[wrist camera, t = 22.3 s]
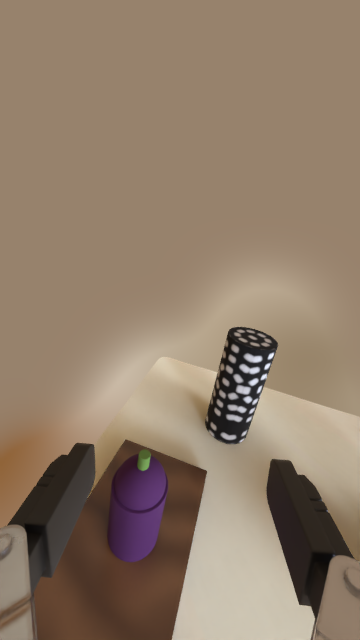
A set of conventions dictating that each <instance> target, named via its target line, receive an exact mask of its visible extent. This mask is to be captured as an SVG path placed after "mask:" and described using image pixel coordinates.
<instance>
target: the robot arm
mask: <svg viewBox="0 0 360 640" xmlns="http://www.w3.org/2000/svg"><path fill="white" fill-rule="evenodd" d="M94 479H95V450H94V445H93V444H84V443H76V444H75V445H74V447H73V448H72V450H71V451H70V453H69V454H68V455H61V456H60V457H58V458H57V459H56V460H55V461H54V462H52V463H51V464H50V466H49V467H48V468H47V470H46V471H45V473H44V474H43V477H41V478H40V480H39V481H38V483H37V485H36V486H35V487H34V488H33V490H32V491H31V493H30V494H29V495H28V497H27V498H26V500H25V501H24V503H23V504H22V505H21V507H20V508H19V510H18V511H17V512H16V514H15V515H14V517H13V518H12V520H11V521H10V522H9V524H8V525H7V526H5V527H2V528H0V640H38V635H37V623H36V611H35V599H34V591H35V588H36V586H37V584H38V582H39V580H40V578H41V577H47V578H52V576H53V574H54V572H55V569H56V567H57V565H58V563H59V560H60V558H61V556H62V554H63V551H64V549H65V547H66V545H67V542H68V540H69V538H70V536H71V533H72V531H73V529H74V527H75V524H76V522H77V520H78V518H79V516H80V513H81V511H82V509H83V507H84V504H85V502H86V500H87V498H88V495H89V493H90V491H91V489H92V486H93V483H94ZM267 500H268V504H269V508H270V511H271V514H272V517H273V521H274V524H275V527H276V530H277V533H278V537H279V540H280V543H281V546H282V550H283V553H284V556H285V559H286V563H287V566H288V569H289V572H290V576H291V579H292V582H293V585H294V588H295V592H296V595H297V598H298V601H299V605H307V606H311V607H312V610H313V613H314V616H315V622H314V626H313V631H312V635H311V640H360V562H358V561H356V560H355V559H354V557H353V556H352V554H351V552H350V550H349V548H348V547H347V545H346V543H345V541H344V539H343V537H342V535H341V534H340V532H339V530H338V528H337V526H336V524H335V522H334V521H333V519H332V517H331V515H330V513H328V510H327V508H326V506H325V504H324V502H322V498H321V497H320V495H319V493H318V491H317V489H316V487H315V486H314V485H313V484H312V483H311V482H310V481H309V480H308V479H307V478H306V477H305V475H298V474H297V472H296V470H295V468H294V466H293V464H292V462H291V461H289V460H277V459H272V460H271V463H270V469H269V476H268V482H267Z"/></svg>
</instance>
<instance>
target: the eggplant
mask: <svg viewBox="0 0 360 640" xmlns="http://www.w3.org/2000/svg"><path fill="white" fill-rule="evenodd" d="M167 491H168V479H167V475H166V473H165V471H164V469H163V467H162V465H161V463H160V462H159V461H158V460H157V459H156V458H155V457H153V456H151V454H150V452H149V451H148V450H146V449H144V450H141V451H140V452H139V454H136V455H133V456H131V457H129V458H128V459H127V460H126V461H125V462H124V463H123V464H122V465H121V466H120V467H119V468H118V470H117V471H116V473H115V474H114V477H113V480H112V485H111V497H110V508H109V520H108V533H107V538H108V544H109V547H110V549H111V551H112V552H113V554H114V555H115V556H116V557H117V558H119V559H120V560H122V561H125V562H136V561H139V560H141V559H143V558H145V557H146V556H147V555H148V554H149V553H150V552H151V551H152V549H153V548H154V546H155V544H156V541H157V538H158V533H159V528H160V524H161V519H162V515H163V510H164V505H165V501H166V496H167Z"/></svg>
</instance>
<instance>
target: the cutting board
mask: <svg viewBox="0 0 360 640" xmlns="http://www.w3.org/2000/svg"><path fill="white" fill-rule="evenodd" d="M144 449H146V450H148V451H149V452H150V454H151V456H153V457H155V458H156V459H157V460H158V461H159V462H160V463H161V465H162V467H163V469H164V471H165V473H166V475H167V479H168V491H167V496H166V501H165V505H164V510H163V515H162V519H161V524H160V528H159V533H158V538H157V541H156V544H155V546H154V548H153V549H152V551H151V552H150V553H149V554H148V555H147V556H146V557H145V558H143V559H141V560H139V561H136V562H125V561H122V560H120V559H119V558H117V557H116V556H115V555H114V554H113V552H112V551H111V549H110V547H109V544H108V538H107V533H108V520H109V508H110V497H111V485H112V480H113V477H114V474H115V473H116V471H117V470H118V468H119V467H120V466H121V465H122V464H123V463H124V462H125V461H126V460H127V459H128V458H129V457H131V456H133V455H136V454H139V452H140V451H141V450H144ZM206 474H207V471H206V470H203V469H201V468H198V467H195V466H193V465H190V464H188V463H185V462H183V461H180V460H177V459H175V458H172V457H170V456H167V455H165V454H162V453H159V452H157V451H154V450H152V449H149V448H147V447H144V446H141V445H139V444H136V443H134V442H131V441H129V440H125V441H124V443H123V444H122V446H121V447H120V449H119V451H118V452H117V454H116V455H115V457H114V458H113V460H112V462H111V463H110V465H109V466H108V468H107V469H106V471H105V473H104V474H103V476H102V477H101V479H100V480H99V482H98V484H97V485H96V487H95V488H94V490H93V491H92V493H91V495H90V496H89V498H88V499H87V501H86V502H85V504H84V507H83V509H82V511H81V513H80V516H79V518H78V520H77V522H76V524H75V527H74V529H73V531H72V533H71V536H70V538H69V540H68V542H67V545H66V547H65V549H64V551H63V554H62V556H61V558H60V560H59V563H58V565H57V567H56V569H55V572H54V574H53V576H52V578H47V577H41V578H40V580H39V582H38V584H37V586H36V588H35V591H34V599H35V611H36V623H37V635H38V640H172V635H173V631H174V626H175V621H176V616H177V612H178V607H179V602H180V597H181V593H182V588H183V583H184V578H185V574H186V569H187V564H188V559H189V554H190V550H191V545H192V540H193V535H194V531H195V526H196V521H197V516H198V512H199V507H200V502H201V497H202V493H203V488H204V483H205V478H206Z"/></svg>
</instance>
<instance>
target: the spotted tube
mask: <svg viewBox="0 0 360 640" xmlns="http://www.w3.org/2000/svg"><path fill="white" fill-rule="evenodd" d="M277 347H278V343H277V342H276V340H275V339H274V338H272V337H271V336H269V335H267V334H266V333H263V332H261V331H258V330H255V329H250V328H246V327H235V328H231V329H230V330H229V331H228V335H227V339H226V343H225V347H224V351H223V355H222V358H221V363H220V366H219V370H218V374H217V377H216V381H215V385H214V389H213V393H212V397H211V401H210V404H209V408H208V412H207V416H206V420H205V425H206V428H207V430H208V431H209V433H210V434H211V435H212V436H213V437H214V438H216V439H217V440H219V441H221V442H224V443H228V444H237V443H240V442H242V441H243V440H244V439H245V438H246V435H247V432H248V429H249V427H250V424H251V421H252V418H253V415H254V412H255V410H256V407H257V404H258V401H259V398H260V395H261V392H262V390H263V387H264V384H265V381H266V378H267V375H268V373H269V370H270V367H271V364H272V361H273V358H274V355H275V353H276V350H277Z"/></svg>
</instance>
